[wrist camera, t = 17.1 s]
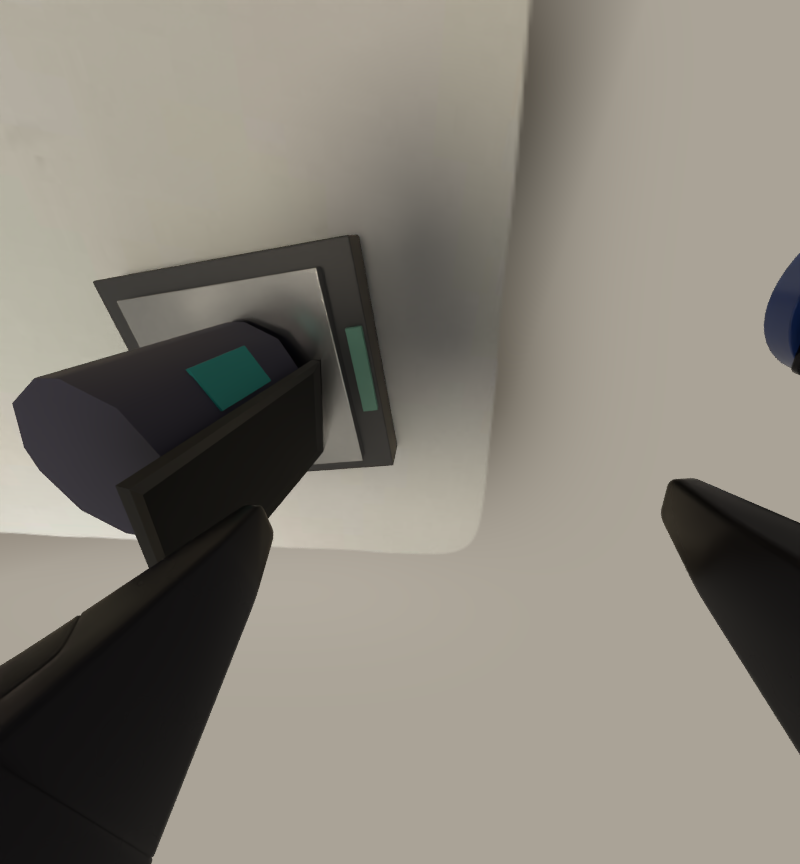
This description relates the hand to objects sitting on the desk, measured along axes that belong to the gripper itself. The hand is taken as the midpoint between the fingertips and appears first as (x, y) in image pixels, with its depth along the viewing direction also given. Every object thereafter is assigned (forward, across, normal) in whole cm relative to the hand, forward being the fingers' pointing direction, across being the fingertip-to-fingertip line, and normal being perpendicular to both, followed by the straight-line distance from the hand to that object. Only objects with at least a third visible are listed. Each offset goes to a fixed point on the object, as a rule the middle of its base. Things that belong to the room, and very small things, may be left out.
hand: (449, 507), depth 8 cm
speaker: (+10, +10, 0) cm, 14 cm away
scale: (+13, +10, 0) cm, 16 cm away
